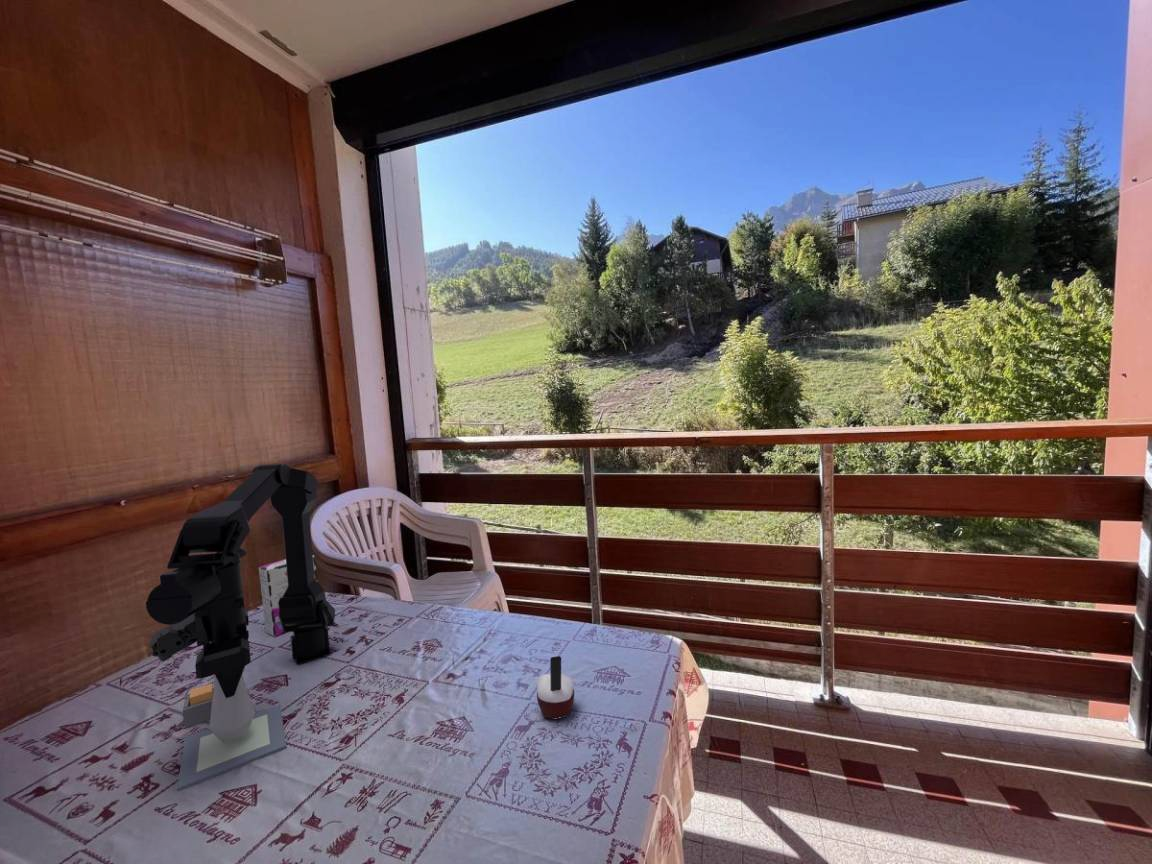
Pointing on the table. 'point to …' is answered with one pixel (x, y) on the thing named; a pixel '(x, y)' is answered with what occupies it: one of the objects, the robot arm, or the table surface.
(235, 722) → the salt shaker
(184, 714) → the button housing
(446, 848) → the table surface
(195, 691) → the push button
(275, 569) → the candy bar box
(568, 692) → the cocoa
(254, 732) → the grey flat square slab
